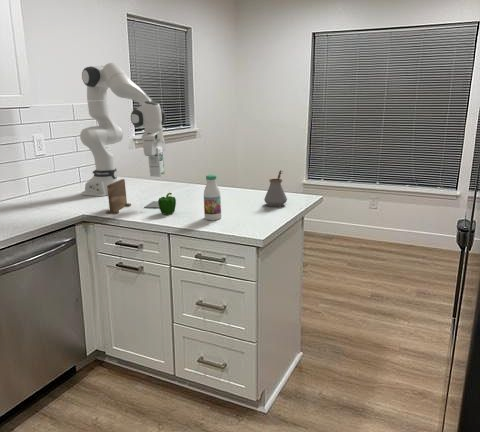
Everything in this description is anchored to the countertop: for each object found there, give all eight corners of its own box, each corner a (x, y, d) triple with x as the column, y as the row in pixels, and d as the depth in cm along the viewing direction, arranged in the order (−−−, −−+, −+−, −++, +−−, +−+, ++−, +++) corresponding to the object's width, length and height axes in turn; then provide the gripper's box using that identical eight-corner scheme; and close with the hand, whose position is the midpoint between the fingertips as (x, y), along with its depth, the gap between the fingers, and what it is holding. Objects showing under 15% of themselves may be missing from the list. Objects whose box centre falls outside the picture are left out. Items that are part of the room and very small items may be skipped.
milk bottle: (204, 216, 212) (202, 174, 207) (221, 215, 212) (219, 173, 207) (204, 221, 205) (202, 177, 199) (221, 220, 205) (220, 176, 200)
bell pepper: (160, 216, 214) (158, 196, 211) (158, 212, 222) (156, 192, 219) (178, 214, 216) (176, 194, 213) (175, 210, 224) (174, 190, 221)
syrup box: (160, 176, 227) (158, 147, 223) (149, 176, 229) (147, 147, 225) (164, 174, 233) (162, 146, 229) (154, 174, 234) (151, 146, 230)
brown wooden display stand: (105, 213, 222) (102, 185, 218) (120, 205, 237) (117, 179, 233) (117, 213, 221) (114, 185, 217) (131, 205, 236) (128, 179, 232)
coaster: (144, 208, 230) (144, 206, 230) (153, 202, 242) (153, 201, 242) (166, 208, 228) (166, 207, 228) (174, 202, 239) (174, 201, 239)
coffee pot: (284, 208, 222) (284, 178, 218) (262, 207, 225) (261, 177, 221) (291, 198, 242) (291, 170, 238) (270, 197, 245) (270, 169, 241)
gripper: (155, 132, 236) (157, 159, 239) (140, 137, 216) (142, 165, 220) (167, 132, 234) (169, 159, 238) (152, 137, 215) (154, 165, 219)
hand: (156, 162), depth 229 cm, fingers closed on syrup box, 6 cm apart
